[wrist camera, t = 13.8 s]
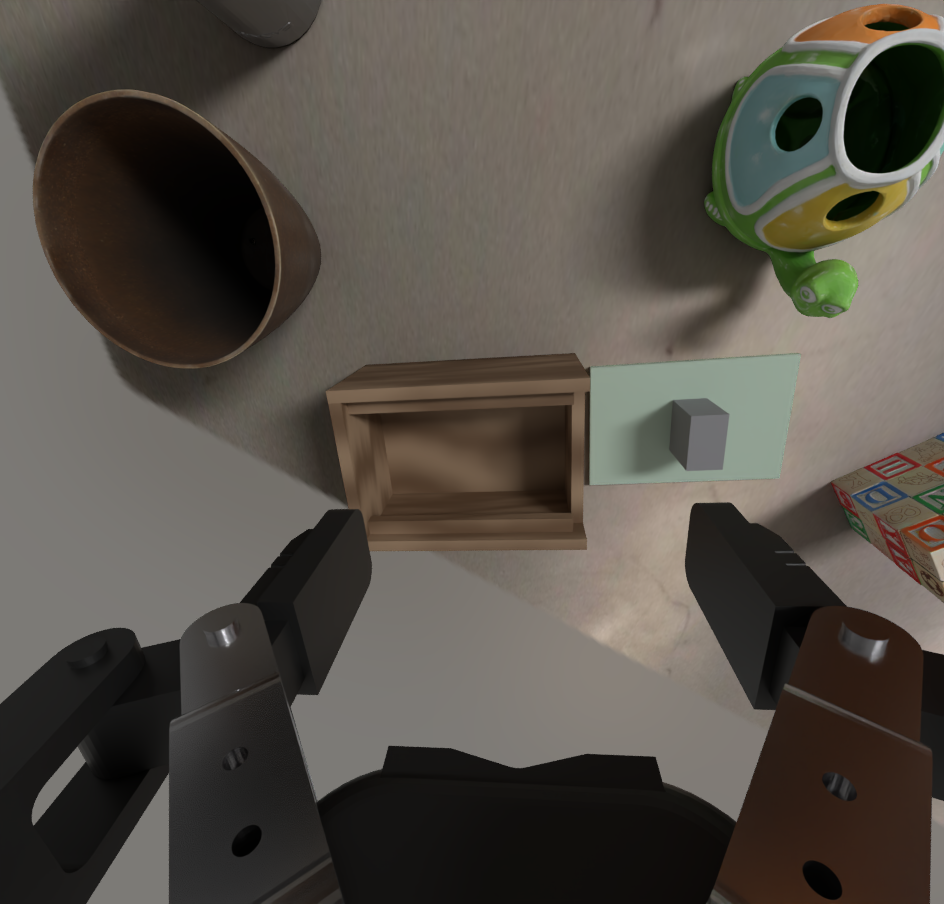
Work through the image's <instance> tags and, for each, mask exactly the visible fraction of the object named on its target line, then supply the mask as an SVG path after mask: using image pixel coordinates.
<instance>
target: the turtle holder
mask: <svg viewBox="0 0 944 904" xmlns="http://www.w3.org/2000/svg"><path fill="white" fill-rule="evenodd" d="M943 151H944V18H943V17H941V16H938V15H928V14H926V13H924V12H922V11H920V10H917V9H914V8H912V7H907V6H903V5H896V4H879V5H871V6H865V7H860V8H856V9H853V10H849V11H846V12H843V13H841V14H839V15H836V16H833V17H830V18H827V19H824V20H821V21H818V22H816V23H814V24H812V25H810V26H808V27H806V28H804V29H802V30H801V31H799V32H798V33H796V34H795V35H794V36H792V37H791V38H790V39H789V40H788V41H787V42H786V43H785V44H784V46H783V47H782V48H780V49H779V50H777V51H776V52H775V53H773V54H772V55H771V56H769V57H768V58H767V59H766V60H765V61H763V62H762V63H761V64H760V65H759V66H758V67H757V69H756V70H755V71H754V72H753V73H752V74H751V75H750V77H743V78H741V79H740V80H739V81H738V82H737V84H736V86H735V89H734V92H733V95H732V102H731V105H730V106H729V108H728V110H727V112H726V114H725V116H724V119H723V121H722V123H721V126H720V128H719V131H718V134H717V138H716V143H715V147H714V153H713V162H712V184H713V191H712V192H711V193H709V194H708V195H707V196H706V198H705V201H704V206H705V210H706V212H707V214H708V215H709V217H710V218H711V219H712V220H714V221H715V222H716V223H718V224H719V225H722V226H726V227H727V229H728V230H729V231H730V233H731V234H732V235H733V236H735V237H736V238H737V239H739V240H740V241H742V242H744V243H745V244H747V245H749V246H751V247H753V248H755V249H758V250H762V251H765V252H766V253H768V254H769V256H770V258H771V261H772V264H773V267H774V271H775V274H776V277H777V279H778V280H779V283H780V285H781V286H782V288H783V290H784V291H785V292H786V294H787V295H788V296H789V297H791V299H792V301H793V303H794V305H795V307H796V309H797V310H798V311H799V312H800V313H801V314H803V315H806V316H813V317H822V316H824V317H828V318H832V317H835V316H837V315H839V314H840V313H842V312H845V311H847V310H848V309H849V307H850V305H851V301H852V299H853V297H854V294H855V292H856V290H857V287H858V279H857V274H856V271H855V270H854V268H853V267H852V266H851V265H850V264H848V263H846V262H844V261H842V260H836V259H832V260H825V261H821V262H819V263H816V262H815V259H814V250H818V249H821V248H825V247H828V246H831V245H834V244H836V243H839V242H841V241H844V240H846V239H848V238H850V237H852V236H854V235H856V234H858V233H860V232H862V231H864V230H866V229H868V228H869V227H871V226H873V225H874V224H876V223H877V222H879V221H881V220H883V219H884V218H886V217H888V216H890V215H891V214H893V213H894V212H896V211H898V210H899V209H900V208H902V207H903V206H904V205H905V204H907V203H908V202H909V201H910V200H911V199H912V197H913V196H914V195H915V194H916V193H917V190H918V189H919V188H920V187H922V186H923V185H924V184H925V183H926V182H927V181H928V180H929V179H930V177H931V176H932V175H933V174H934V172H935V171H936V169H937V167H938V164H939V159H940V156H941V154H942V152H943Z"/></svg>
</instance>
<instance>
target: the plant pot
mask: <svg viewBox="0 0 944 904" xmlns="http://www.w3.org/2000/svg"><path fill="white" fill-rule="evenodd" d="M33 207H34V214H35V221H36V227H37V231H38V234H39V238H40V242H41V245H42V248H43V250H44V253H45V256H46V258H47V260H48V263H49V265H50V267H51V269H52V271H53V273H54V276H55V277H56V279H57V281H58V283H59V284H60V286H61V287H62V289H63V291H64V292H65V294H66V295H67V297H68V298H69V299H70V301H71V302H72V304H73V305H74V306H75V307H76V308H77V310H78V311H79V312H80V313H81V314H82V315H83V316H84V317H85V318H86V320H88V322H89V323H90V324H91V325H92V326H94V327H95V328H96V329H97V330H98V331H99V332H100V333H101V334H103V335H104V336H105V337H106V338H108V339H109V340H110V341H112V342H113V343H115V344H116V345H118V346H119V347H121V348H122V349H124V350H126V351H127V352H129V353H131V354H133V355H135V356H137V357H140V358H142V359H144V360H146V361H149V362H152V363H156V364H159V365H163V366H167V367H173V368H185V369H194V368H204V367H209V366H213V365H217V364H220V363H223V362H225V361H227V360H229V359H231V358H233V357H235V356H237V355H238V354H240V353H241V352H243V351H245V350H246V349H248V348H249V347H251V346H252V345H254V344H255V343H257V342H258V341H260V340H261V339H263V338H264V337H266V336H267V335H269V334H270V333H271V332H272V331H274V330H275V329H276V328H277V327H279V326H280V325H281V324H282V323H283V322H284V321H285V320H286V319H287V318H288V317H289V316H291V315H292V313H293V312H294V311H295V310H296V309H297V308H298V307H299V306H300V305H301V303H302V302H303V301H304V299H305V298H306V296H307V295H308V294H309V292H310V290H311V288H312V287H313V285H314V283H315V281H316V278H317V275H318V273H319V269H320V265H321V249H320V244H319V240H318V237H317V235H316V232H315V230H314V228H313V226H312V224H311V222H310V220H309V218H308V217H307V215H306V213H305V212H304V210H303V209H302V207H301V206H300V205H299V203H298V202H297V201H296V199H295V198H294V197H293V196H292V194H291V193H290V192H289V191H288V190H287V188H286V187H285V186H284V185H283V184H282V183H281V182H280V181H279V180H278V179H277V178H276V176H275V175H274V174H273V173H272V172H271V171H269V170H268V169H267V168H266V167H265V166H264V165H263V164H262V163H261V162H260V161H259V160H258V159H257V158H256V157H254V156H253V155H252V154H251V153H250V152H248V151H247V150H246V149H245V148H243V147H242V146H241V145H240V144H238V143H237V142H236V141H235V140H233V139H232V138H231V137H229V136H228V135H227V134H225V133H224V132H222V131H221V130H220V129H218V128H217V127H216V126H214V125H213V124H211V123H210V122H209V121H207V120H206V119H204V118H203V117H202V116H200V115H199V114H197V113H196V112H194V111H193V110H191V109H189V108H188V107H186V106H184V105H182V104H180V103H178V102H176V101H174V100H172V99H169V98H166V97H164V96H161V95H158V94H153V93H149V92H144V91H139V90H111V91H106V92H102V93H98V94H95V95H92V96H89V97H87V98H85V99H83V100H81V101H79V102H77V103H76V104H74V105H73V106H71V107H70V108H69V109H68V110H67V111H65V112H64V113H63V114H62V115H61V116H60V117H59V118H58V119H57V121H56V122H55V123H54V124H53V125H52V127H51V129H50V130H49V132H48V133H47V135H46V137H45V139H44V141H43V143H42V145H41V148H40V151H39V154H38V158H37V162H36V166H35V171H34V179H33ZM251 238H254V239H255V240H256V244H255V245H253V244H252V243H251V242H250V239H251Z"/></svg>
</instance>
